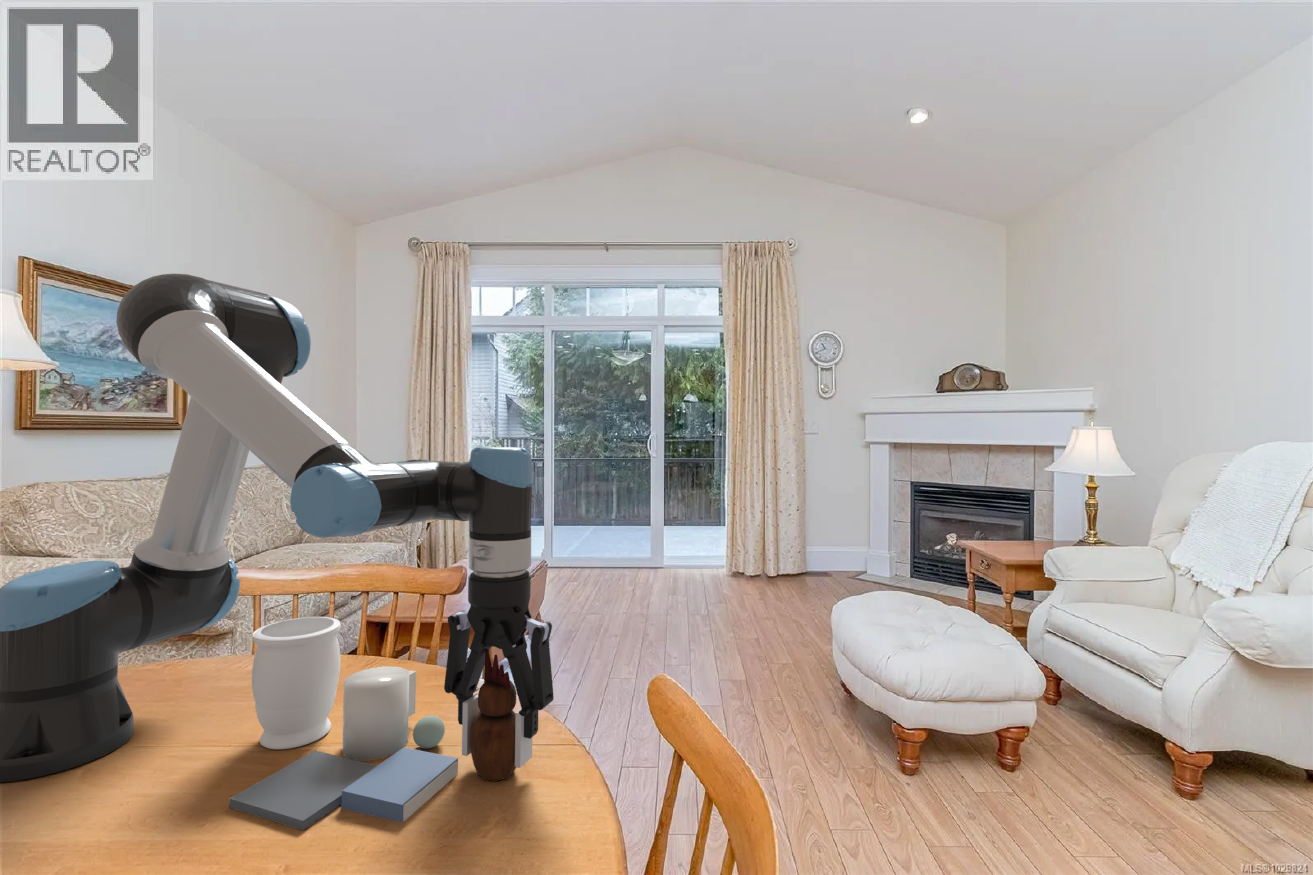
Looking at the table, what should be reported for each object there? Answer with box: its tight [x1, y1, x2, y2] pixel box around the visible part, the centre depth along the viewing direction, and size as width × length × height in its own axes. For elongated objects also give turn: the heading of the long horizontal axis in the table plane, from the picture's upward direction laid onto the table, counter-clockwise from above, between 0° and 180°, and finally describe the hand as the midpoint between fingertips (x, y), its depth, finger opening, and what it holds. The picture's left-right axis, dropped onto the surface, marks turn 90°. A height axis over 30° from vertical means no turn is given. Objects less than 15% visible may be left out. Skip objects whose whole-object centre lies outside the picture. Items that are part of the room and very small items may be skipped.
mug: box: [342, 665, 417, 762], centre depth 82 cm, size 8×11×9 cm
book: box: [340, 746, 459, 823], centre depth 70 cm, size 8×10×2 cm
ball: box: [412, 715, 446, 750], centre depth 80 cm, size 4×4×4 cm
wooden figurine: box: [470, 649, 517, 781], centre depth 74 cm, size 7×6×15 cm
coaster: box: [228, 749, 378, 831], centre depth 70 cm, size 11×11×1 cm
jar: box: [251, 616, 342, 750], centre depth 82 cm, size 11×10×15 cm
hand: (496, 755), depth 74 cm, fingers closed on wooden figurine, 7 cm apart
